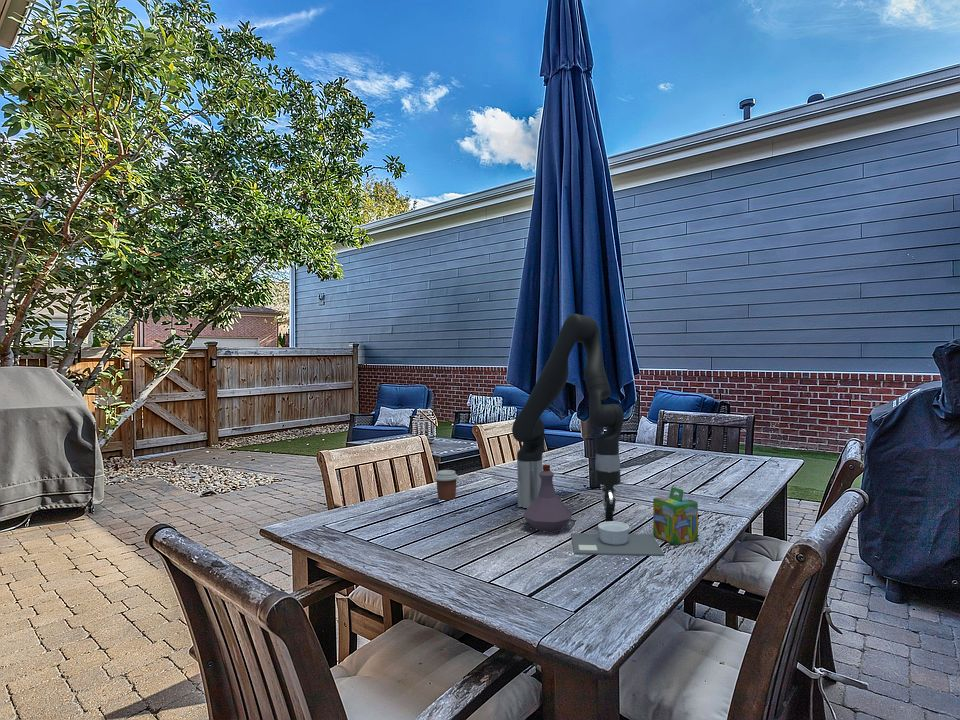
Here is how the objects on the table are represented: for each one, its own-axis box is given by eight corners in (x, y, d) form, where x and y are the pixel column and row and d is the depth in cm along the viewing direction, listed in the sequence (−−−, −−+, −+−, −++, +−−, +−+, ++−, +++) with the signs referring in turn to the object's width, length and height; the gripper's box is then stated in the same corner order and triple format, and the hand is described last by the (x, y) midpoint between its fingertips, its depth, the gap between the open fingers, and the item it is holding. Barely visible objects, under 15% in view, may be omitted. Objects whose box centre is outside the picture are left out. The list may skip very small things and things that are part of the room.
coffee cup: (430, 503, 194) (429, 472, 194) (448, 498, 200) (448, 468, 200) (444, 508, 187) (444, 475, 187) (463, 503, 193) (462, 471, 193)
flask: (529, 538, 153) (527, 472, 153) (517, 521, 169) (515, 461, 169) (581, 534, 155) (579, 469, 156) (564, 518, 172) (562, 459, 172)
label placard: (574, 554, 140) (574, 552, 140) (571, 534, 155) (571, 533, 155) (664, 555, 137) (664, 554, 137) (651, 535, 153) (651, 534, 153)
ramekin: (621, 548, 142) (620, 532, 142) (592, 541, 148) (592, 526, 148) (634, 539, 148) (634, 524, 148) (607, 533, 154) (606, 519, 154)
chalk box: (652, 536, 152) (651, 487, 152) (676, 531, 156) (674, 483, 156) (675, 546, 144) (674, 494, 144) (699, 541, 147) (698, 490, 147)
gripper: (593, 463, 166) (594, 516, 166) (598, 472, 153) (599, 530, 153) (616, 463, 165) (618, 517, 165) (623, 472, 152) (625, 530, 152)
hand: (609, 523), depth 159 cm, fingers closed
